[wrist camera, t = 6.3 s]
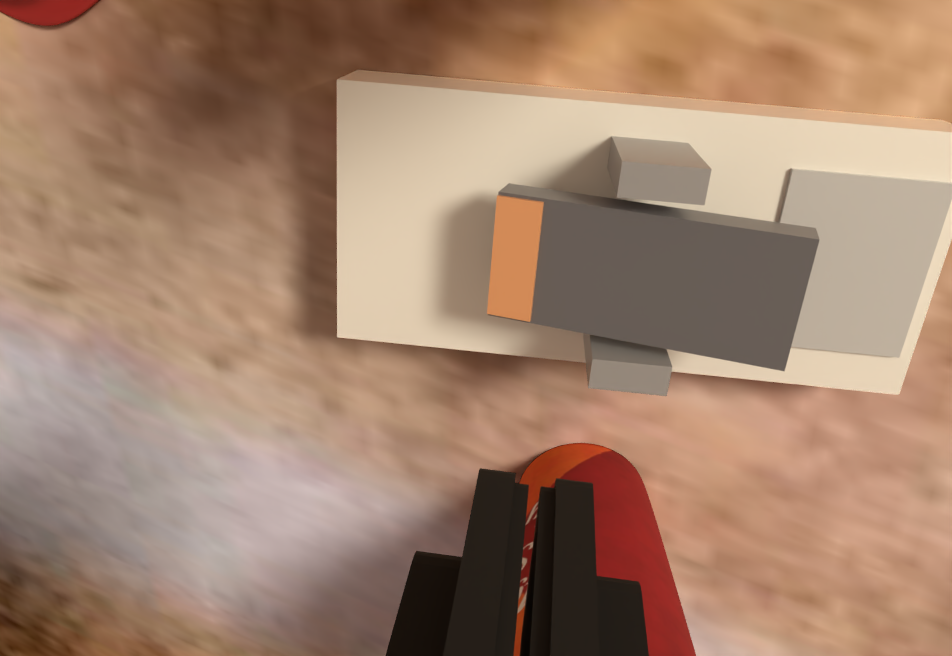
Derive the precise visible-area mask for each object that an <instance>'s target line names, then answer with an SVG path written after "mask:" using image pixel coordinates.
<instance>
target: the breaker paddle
mask: <svg viewBox="0 0 952 656" xmlns="http://www.w3.org/2000/svg"><path fill="white" fill-rule="evenodd" d="M819 240H820V239H819V236H818V233H817V230H816V228H813V227H806V226H799V225H792V224H785V223H778V222H771V221H765V220H758V219H751V218H744V217H737V216H730V215H723V214H716V213H710V212H703V211H696V210H689V209H682V208H675V207H668V206H662V205H655V204H648V203H641V202H634V201H627V200H620V199H613V198H607V197H600V196H593V195H586V194H579V193H572V192H565V191H559V190H552V189H545V188H538V187H531V186H524V185H517V184H510V183H509V184H507V185H506V186H505V187H504V188H502V189H501V190H500V191H499V192H498V196H497V200H496V212H495V224H494V235H493V247H492V259H491V271H490V283H489V294H488V306H487V314H488V315H490V316H495V317H501V318H506V319H511V320H516V321H522V322H527V323H532V324H537V325H543V326H548V327H553V328H558V329H564V330H569V331H574V332H580V333H585V334H590V335H595V336H601V337H606V338H611V339H616V340H622V341H627V342H632V343H637V344H643V345H648V346H653V347H659V348H664V349H669V350H674V351H680V352H685V353H690V354H695V355H701V356H706V357H711V358H716V359H722V360H727V361H732V362H737V363H743V364H748V365H753V366H759V367H764V368H769V369H774V370H780V371H785V368H786V364H787V360H788V357H789V353H790V349H791V345H792V342H793V338H794V334H795V330H796V327H797V323H798V319H799V315H800V311H801V308H802V304H803V300H804V296H805V293H806V289H807V285H808V281H809V278H810V274H811V270H812V266H813V263H814V259H815V255H816V251H817V248H818V244H819Z"/></svg>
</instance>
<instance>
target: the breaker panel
mask: <svg viewBox="0 0 952 656" xmlns="http://www.w3.org/2000/svg"><path fill="white" fill-rule="evenodd" d="M509 183H510V184H517V185H524V186H531V187H538V188H545V189H552V190H559V191H565V192H572V193H579V194H586V195H593V196H600V197H607V198H613V199H620V200H627V201H634V202H641V203H648V204H655V205H662V206H668V207H675V208H682V209H689V210H696V211H703V212H710V213H716V214H723V215H730V216H737V217H744V218H751V219H758V220H765V221H771V222H778V223H785V224H792V225H799V226H806V227H813V228H816V230H817V233H818V236H819V239H820V240H819V244H818V248H817V251H816V255H815V259H814V263H813V266H812V270H811V274H810V278H809V281H808V285H807V289H806V293H805V296H804V300H803V304H802V308H801V311H800V315H799V319H798V323H797V327H796V330H795V334H794V338H793V342H792V345H791V349H790V353H789V357H788V360H787V364H786V368H785V371H780V370H774V369H769V368H764V367H759V366H753V365H748V364H743V363H737V362H732V361H727V360H722V359H716V358H711V357H706V356H701V355H695V354H690V353H685V352H680V351H674V350H669V349H664V348H659V347H653V346H648V345H643V344H637V343H632V342H627V341H622V340H616V339H611V338H606V337H601V336H595V335H590V334H585V333H580V332H574V331H569V330H564V329H558V328H553V327H548V326H543V325H537V324H532V323H527V322H522V321H516V320H511V319H506V318H501V317H495V316H490V315H488V314H487V306H488V294H489V283H490V271H491V259H492V247H493V235H494V224H495V212H496V200H497V196H498V192H499V191H500V190H501V189H502V188H504V187H505V186H506V185H507V184H509ZM951 240H952V123H949V122H946V121H944V120H939V119H928V118H916V117H904V116H893V115H881V114H869V113H858V112H846V111H834V110H823V109H811V108H799V107H788V106H776V105H764V104H753V103H741V102H729V101H718V100H706V99H694V98H683V97H671V96H659V95H648V94H636V93H624V92H613V91H601V90H589V89H578V88H566V87H554V86H543V85H531V84H519V83H508V82H496V81H484V80H473V79H461V78H449V77H438V76H426V75H414V74H403V73H391V72H379V71H368V70H356V71H354V72H352V73H350V74H347V75H345V76H343V77H341V78H339V79H337V337H340V338H349V339H359V340H369V341H379V342H388V343H398V344H408V345H418V346H427V347H437V348H447V349H457V350H466V351H476V352H486V353H496V354H505V355H515V356H525V357H535V358H544V359H554V360H564V361H574V362H583V363H586V371H587V381H588V388H593V389H602V390H612V391H621V392H631V393H641V394H650V395H660V396H667V392H668V387H669V382H670V377H671V372H681V373H691V374H700V375H710V376H720V377H730V378H739V379H749V380H759V381H769V382H778V383H788V384H798V385H808V386H817V387H827V388H837V389H847V390H857V391H866V392H876V393H886V394H896V395H899V393H900V390H901V387H902V384H903V381H904V378H905V375H906V372H907V369H908V366H909V363H910V361H911V358H912V355H913V352H914V349H915V346H916V343H917V340H918V337H919V334H920V331H921V328H922V325H923V322H924V319H925V316H926V313H927V310H928V307H929V304H930V302H931V299H932V296H933V293H934V290H935V287H936V284H937V281H938V278H939V275H940V272H941V269H942V266H943V263H944V260H945V257H946V254H947V251H948V248H949V245H950V242H951Z"/></svg>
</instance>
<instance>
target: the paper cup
mask: <svg viewBox="0 0 952 656" xmlns="http://www.w3.org/2000/svg"><path fill="white" fill-rule="evenodd" d="M556 478H558V479H566V480H574V481H582V482H590V483H593V490H594V516H595V543H596V569H597V576H603V577H610V578H617V579H625V580H632V581H639V583H640V585H641V591H642V598H643V607H644V616H645V625H646V634H647V643H648V652H649V656H696V654H695V651H694V647H693V644H692V640H691V637H690V633H689V630H688V627H687V623H686V620H685V616H684V613H683V609H682V606H681V603H680V599H679V596H678V592H677V589H676V586H675V582H674V579H673V576H672V572H671V569H670V565H669V562H668V559H667V555H666V552H665V549H664V545H663V542H662V539H661V535H660V532H659V529H658V525H657V522H656V519H655V516H654V512H653V509H652V506H651V503H650V500H649V497H648V494H647V491H646V488H645V486H644V483H643V481H642V479H641V477H640V475H639V473H638V472H637V470H636V469H635V467H634V466H633V465H632V464H631V463H630V462H629V461H628V460H627V459H626V458H625V457H623V456H622V455H620V454H619V453H617V452H615V451H613V450H611V449H609V448H606V447H603V446H600V445H595V444H588V443H573V444H567V445H562V446H558V447H555V448H553V449H550V450H548V451H546V452H545V453H543V454H541V455H540V456H538V457H537V458H536V459H535V460H534V461H533V462H532V463H531V464H530V465H529V466H528V467H527V469H526V470H525V472H524V473H523V475H522V477H521V480H520V482H519V483H520V484H527V485H529V491H528V502H527V513H526V524H525V535H524V546H523V557H522V568H521V579H520V590H519V601H518V612H517V623H516V634H515V645H514V656H520V645H521V635H522V626H523V618H524V610H525V602H526V594H527V587H528V579H529V571H530V563H531V555H532V548H533V540H534V532H535V524H536V517H537V509H538V501H539V493H540V487H541V486H543V487H551V488H554V486H555V480H556Z"/></svg>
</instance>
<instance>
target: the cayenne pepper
mask: <svg viewBox="0 0 952 656" xmlns="http://www.w3.org/2000/svg"><path fill="white" fill-rule="evenodd" d="M98 1H99V0H0V11H1V12H2V13H4V14H6V15H8V16H11V17H13V18H15V19H18V20H21V21H24V22H27V23H31V24H35V25H43V26H51V25H59V24H62V23H65V22H68V21H70V20H72V19H74V18H76V17H78V16H79V15H81V14H82V13H84V12H85V11H87V10H88V9H89V8H91V7H92V6H93V5H94V4H96V3H97V2H98Z"/></svg>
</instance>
